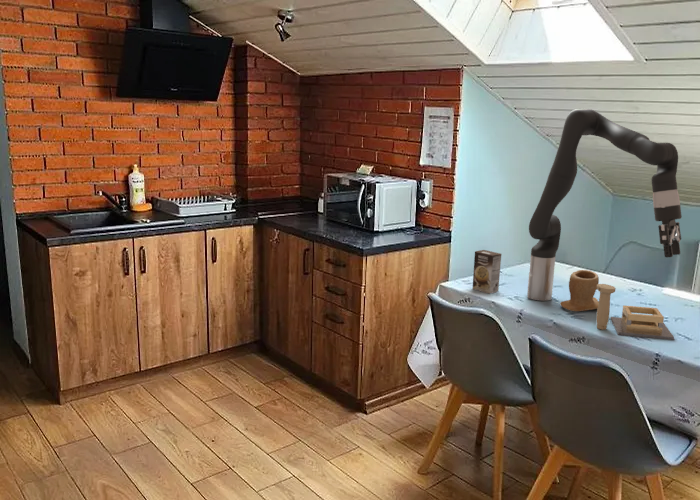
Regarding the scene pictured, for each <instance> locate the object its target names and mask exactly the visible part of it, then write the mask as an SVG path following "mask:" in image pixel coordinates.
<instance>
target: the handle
mask: <svg viewBox="0 0 700 500" xmlns="http://www.w3.org/2000/svg"><path fill="white" fill-rule="evenodd" d="M596 291H598V292H599V298H598V302H599V303H598V309H596V328H597V329H598V330H600V331H601V330H602V331H603V330H604V331H605V330H607V327H608V324H609V320H610V307H611V294H614V293H615V292H616V287H615V286H613V285H610V284H606V283H599V284H597V290H596Z"/></svg>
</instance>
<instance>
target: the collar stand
mask: <svg viewBox="0 0 700 500" xmlns="http://www.w3.org/2000/svg"><path fill="white" fill-rule="evenodd" d="M664 319H665V317H664V316H663V314H662V313H661V311H660V309H658V308H656V307H647V306H633V305H622V311H621V317H619V316H617V317H616V316H610V318H609V320H610V322H611V324H612V325H613V328H614V329H615V332H616V334H617V335H618V336H626V337H637V338H648V339H660V340H668V341H669V340H670V341H674V340H675V336H674V335H673V333H672V332H671V331H670V330H669V328H668V327H667V326H666V323H665V322H664Z"/></svg>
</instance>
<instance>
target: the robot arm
mask: <svg viewBox="0 0 700 500" xmlns="http://www.w3.org/2000/svg"><path fill="white" fill-rule="evenodd" d="M582 136H595V137H599V138H602V139H605V140H607V141H609V142H610V143H611V144H612V145H613V146H615V147H616V148H617V149H619V150H621V151H623V152H626V153H629V154H631V155H634V156H635V157H636V158H637V159H639V160H640V161H642V162H643V163H645V164H648V165H650V166H656V167H657V168H656V173H655V174H653V175H652V176H651V187H652V203H653V204H652V205H653V211H654V220H655V222H661V224H658V227H657V228H658V235H659V243H660V245H662V247H663V252H664V258H672V257H673V256H677V255H680V254H681V246H680V243H681V240H682V234H681V225H680V222H679V221H676V220H680V219H682V208H681V201H680V194H679V191H678V184H677V173H678V172H677V171H678V165H679V164H678V163H679V153H678V150H677V147H676V146H675V145H674V144H673V143H672V142H671V143H670V142H656V141H652V140H650V138H649V137H648V136H647V135H644V134H643V133H641V132H638V131H635V130H632V129H629V128H627V127H625V126H623V125H620V124H618V123H616V122H613V121H612V120H611V119H609V118H606V117H605V116H604V115H602V114H601V113H599V112H598V111H596V110H594V109H589V108H576V109H572V111H570V112H569V113H568V115H567V116H566V118H565V121H564V124H563V127H562V133H561V137H560V141H559V145H558V148H557V151H556V154H555V157H554V160H553V163H552V166H551V168H550V171H549V173H548V176H547V180H546V183H545V185H544V188H543V191H542V194H541V197H540V199H539V202H538V203H537V205H536V208H535V210H534V212H533V214H532V216H531V218H530V222H529V224H528V233H529V236H530V237H531V238H532V239H534V240H538V242H537V243H536V244H535V245H533V246H532V248H531V250H530V260H529V261H530V262H529V264H530V265H529V272H528V282H527V283H528V285H527V293H526V294H527V295H526V296H527V299H530V300H534V301H541V302H543V301H544V302H547V301H551V300H552V299H553V297H552V296H553V290H554V288H553V287H554V277H555V266H556V254H557V252H558V250H559V247H560V246H559V245H560V239H561V233H562V225H561V224H562V223H561V221H560V219H559V217H558V216H557V215H555V214H554V212H555V210H556V208H557V207H558V205H559V204H560V203H561V202H562V201H563V200H564V198H566V196H567V195H568V193H570V191H571V189H572V187H573V185H574V182H575V179H576V178H577V174H578V162H577V160H578V159H577V149H578V147H579V144H580V141H581V138H582Z"/></svg>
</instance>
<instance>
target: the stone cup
mask: <svg viewBox="0 0 700 500" xmlns="http://www.w3.org/2000/svg"><path fill="white" fill-rule="evenodd" d="M599 279H600V278H599V275H598V274H597V273H596V272H594V271H592V270H588V269H579V270H576V271H574V272H572V273H571V275H570V277H569V281H568V289H569V295H570V297H569V299H568V300H567V299H566V300H562V301H561V302H559V304H560V306H561V307H562V308H564V309H566V310H568V311H571V312H587V311H592V310H597V309H598V303H599V300H598V299H597V298H596V297H594V296H595V295H596V292H597V291H598V290H597V284H600V283H599V282H600V281H599Z"/></svg>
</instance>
